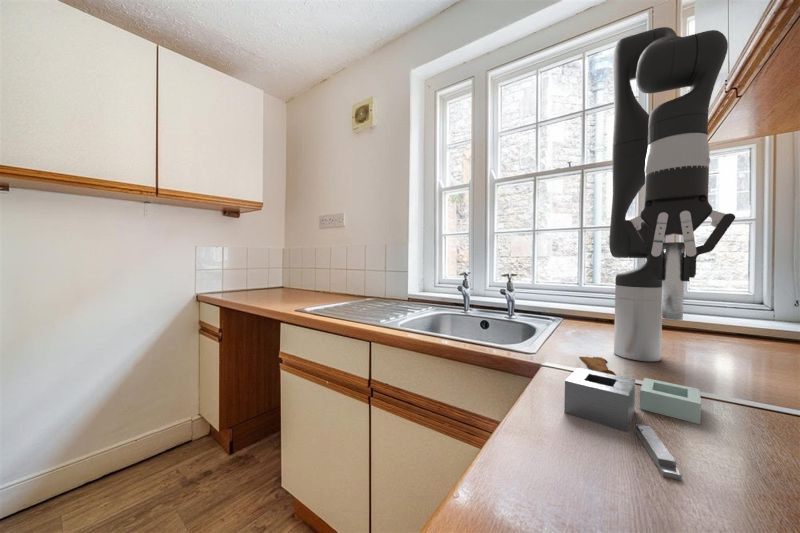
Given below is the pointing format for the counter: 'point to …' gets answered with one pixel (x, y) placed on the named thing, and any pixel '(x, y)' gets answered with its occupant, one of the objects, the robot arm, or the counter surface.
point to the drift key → (658, 452)
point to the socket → (600, 397)
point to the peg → (673, 280)
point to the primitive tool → (597, 364)
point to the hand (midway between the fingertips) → (672, 280)
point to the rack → (671, 400)
